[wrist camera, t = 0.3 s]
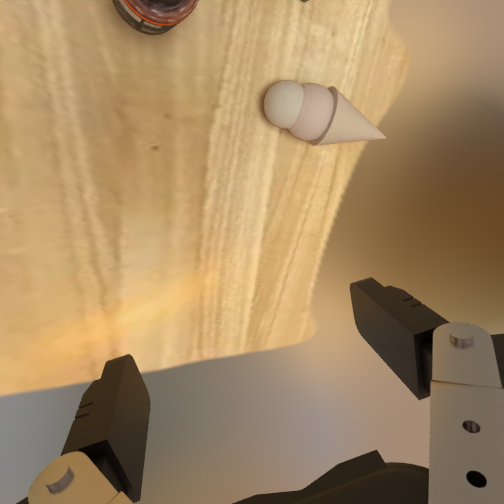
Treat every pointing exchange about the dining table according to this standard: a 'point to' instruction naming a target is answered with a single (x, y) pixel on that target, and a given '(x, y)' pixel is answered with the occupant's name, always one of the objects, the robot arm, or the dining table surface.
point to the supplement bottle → (154, 13)
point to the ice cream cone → (317, 114)
